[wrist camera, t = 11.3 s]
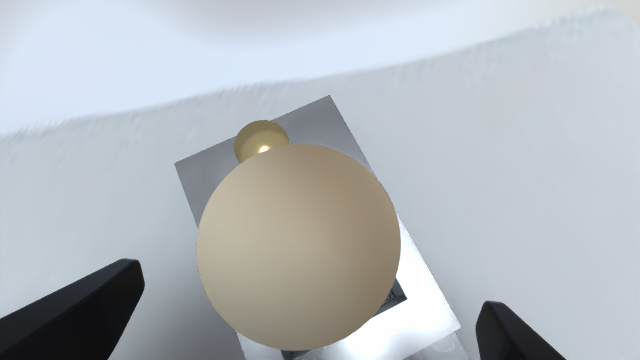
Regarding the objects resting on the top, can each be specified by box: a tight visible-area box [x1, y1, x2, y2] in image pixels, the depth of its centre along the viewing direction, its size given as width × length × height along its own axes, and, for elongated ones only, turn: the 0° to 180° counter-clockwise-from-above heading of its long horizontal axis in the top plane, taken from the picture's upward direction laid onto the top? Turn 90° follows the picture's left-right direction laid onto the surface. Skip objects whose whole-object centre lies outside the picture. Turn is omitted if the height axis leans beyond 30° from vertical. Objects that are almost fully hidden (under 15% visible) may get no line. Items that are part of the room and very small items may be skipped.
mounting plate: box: [174, 95, 470, 360], centre depth 16 cm, size 9×22×5 cm, turn 26°
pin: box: [196, 144, 401, 351], centre depth 13 cm, size 4×4×12 cm
